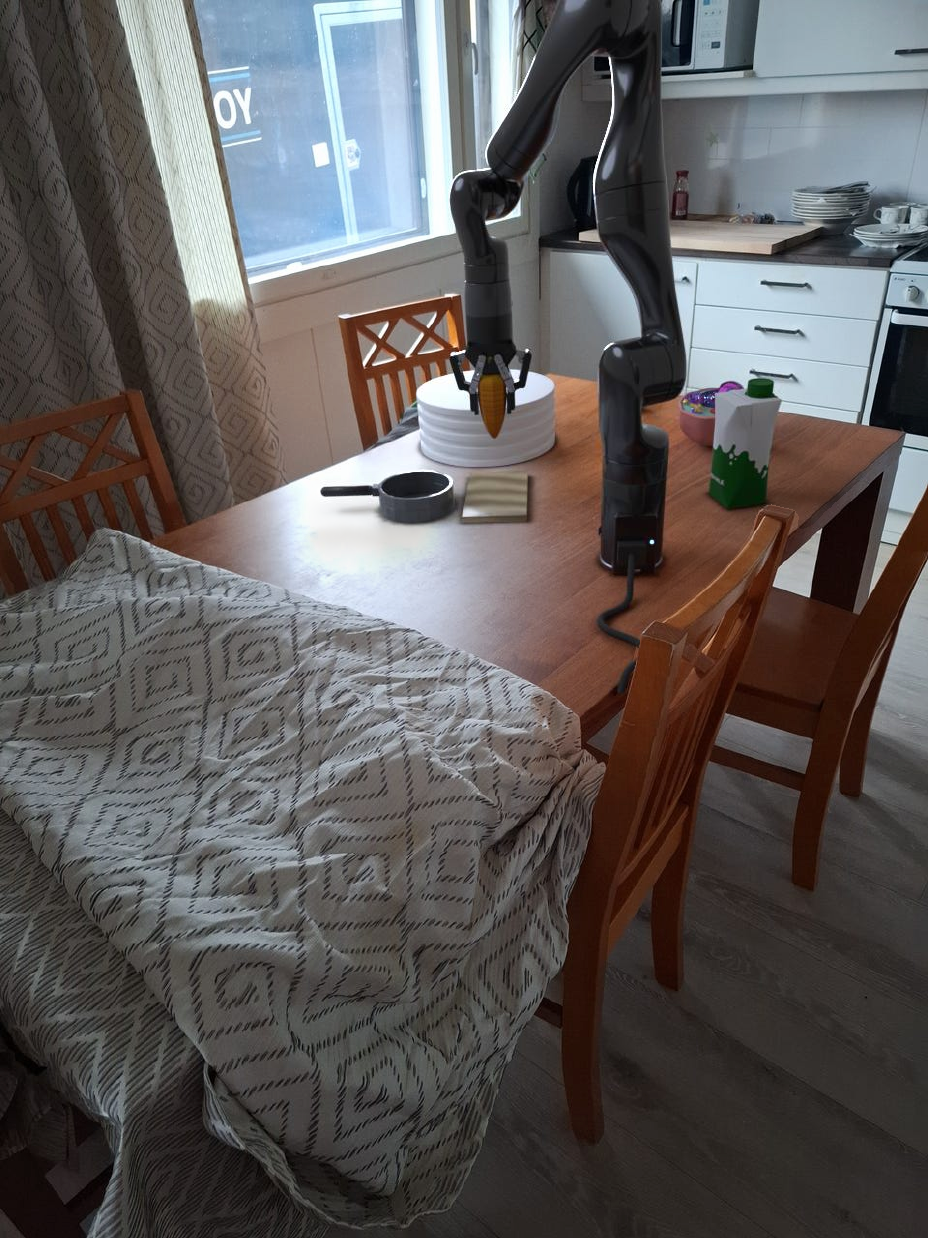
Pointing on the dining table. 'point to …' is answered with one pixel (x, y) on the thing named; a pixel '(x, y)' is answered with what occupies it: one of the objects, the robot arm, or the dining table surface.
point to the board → (496, 497)
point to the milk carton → (743, 443)
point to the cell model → (701, 412)
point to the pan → (416, 496)
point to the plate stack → (464, 435)
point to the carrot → (492, 401)
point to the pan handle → (350, 490)
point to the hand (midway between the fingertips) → (493, 412)
